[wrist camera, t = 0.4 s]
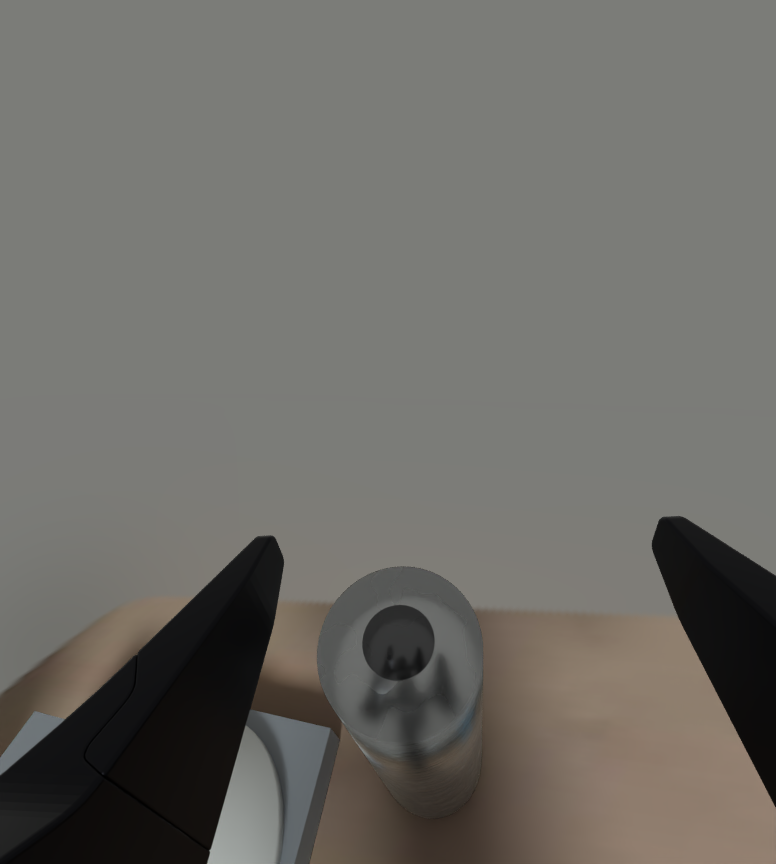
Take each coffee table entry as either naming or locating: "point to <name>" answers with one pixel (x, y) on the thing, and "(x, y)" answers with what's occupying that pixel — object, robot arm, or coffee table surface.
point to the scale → (253, 787)
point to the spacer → (408, 684)
